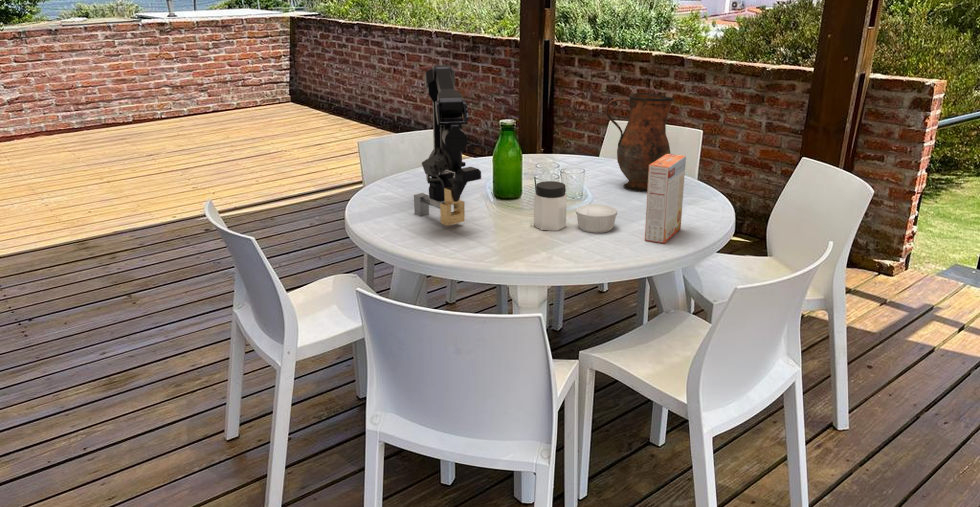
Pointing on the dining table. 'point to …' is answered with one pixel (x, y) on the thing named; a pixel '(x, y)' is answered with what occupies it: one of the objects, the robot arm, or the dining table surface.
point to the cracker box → (664, 198)
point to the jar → (550, 206)
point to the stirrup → (445, 209)
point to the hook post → (424, 204)
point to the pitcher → (642, 137)
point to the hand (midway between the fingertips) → (452, 200)
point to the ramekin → (596, 218)
